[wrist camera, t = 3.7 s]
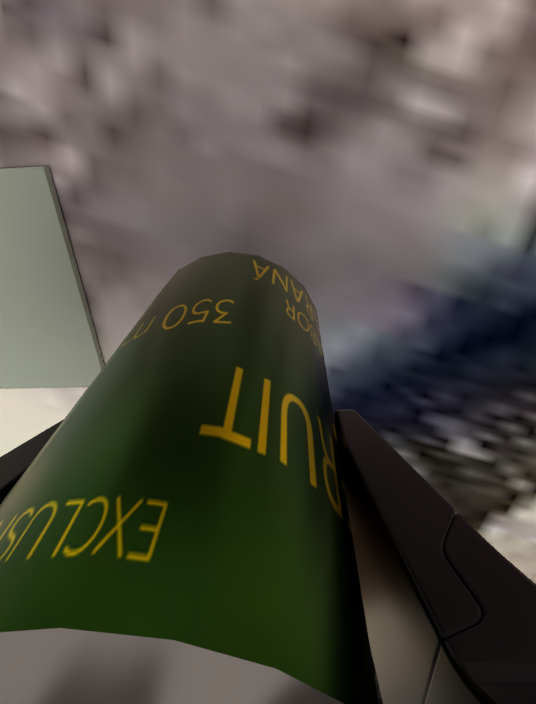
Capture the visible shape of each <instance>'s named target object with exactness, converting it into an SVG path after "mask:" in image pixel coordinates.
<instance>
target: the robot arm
mask: <svg viewBox="0 0 536 704" xmlns="http://www.w3.org/2000/svg"><path fill="white" fill-rule="evenodd" d="M62 422H63V420H62V421H60V422H59V423H57V424H55V425H54V426H52V427H50V428H49V429H47V430H45V431H44V432H42V433H40V434H38V435H37V436H35V437H33V438H32V439H30V440H28V441H27V442H25V443H23V444H22V445H20V446H18V447H17V448H15V449H13V450H12V451H10V452H8V453H7V454H5V455H3V456H1V457H0V504H1V503H2V501H3V500H4V499H5V497H6V496H7V495H8V493H9V492H10V491H11V489H12V488H13V487H14V485H15V484H16V483H17V481H18V480H19V479H20V478H21V476H22V475H23V474H24V472H25V471H26V470H27V468H28V467H29V466H30V464H31V463H32V462H33V460H34V459H35V458H36V456H37V455H38V454H39V452H40V451H41V450H42V448H43V447H44V446H45V444H46V443H47V442H48V440H49V439H50V438H51V436H52V435H53V434H54V432H55V431H56V430H57V428H58V427H59V426H60V424H61V423H62ZM335 431H336V437H337V443H338V449H339V456H340V462H341V468H342V474H343V481H344V487H345V493H346V499H347V506H348V512H349V518H350V525H351V531H352V537H353V543H354V550H355V556H356V562H357V568H358V575H359V581H360V587H361V593H362V600H363V606H364V612H365V619H366V625H367V631H368V637H369V644H370V650H371V656H372V662H373V669H374V675H375V681H376V687H377V694H378V700H379V704H536V584H535V583H534V582H533V581H531V580H530V579H529V578H528V577H527V576H525V575H524V574H523V573H522V572H521V571H520V570H519V569H517V568H516V567H515V566H514V565H513V564H512V563H510V562H509V561H508V560H507V559H506V558H505V557H504V556H502V555H501V554H500V553H499V552H498V551H497V550H496V549H495V548H494V547H493V546H491V545H490V544H489V543H488V542H487V541H486V540H485V539H484V538H483V537H482V536H481V535H480V534H479V533H478V532H477V531H476V530H475V529H474V528H473V527H472V526H471V525H470V524H469V523H468V522H467V521H466V520H465V519H464V518H463V517H462V516H461V515H459V514H456V511H455V510H454V509H453V508H452V507H451V506H450V505H449V504H448V503H447V502H446V501H445V500H444V499H443V498H442V497H441V496H440V495H439V494H438V493H437V492H436V491H435V490H434V489H433V488H432V487H431V486H430V485H429V484H428V483H427V482H426V481H425V480H424V479H423V478H422V477H421V476H420V475H419V474H418V473H417V472H416V471H415V470H414V469H413V468H412V467H411V466H410V465H409V464H408V463H407V462H406V461H405V460H404V459H403V458H402V457H401V456H400V455H399V454H398V453H397V452H396V451H395V450H394V449H393V448H392V447H391V446H390V445H389V444H388V443H387V442H386V441H385V440H384V439H383V438H382V437H381V436H380V435H379V434H378V433H377V432H376V431H375V430H374V429H373V428H372V427H371V426H370V425H369V424H368V423H367V422H366V421H365V420H364V419H363V418H362V417H361V416H360V415H359V414H358V413H357V412H356V411H355V410H337V411H336V412H335Z"/></svg>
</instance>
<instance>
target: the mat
mask: <svg viewBox="0 0 536 704" xmlns="http://www.w3.org/2000/svg"><path fill="white" fill-rule="evenodd" d="M104 366H105V365H104V361H103V358H102V354H101V351H100V347H99V344H98V340H97V337H96V333H95V329H94V326H93V322H92V319H91V315H90V312H89V308H88V304H87V301H86V297H85V294H84V290H83V287H82V283H81V280H80V276H79V272H78V269H77V265H76V262H75V258H74V255H73V251H72V247H71V244H70V240H69V237H68V233H67V230H66V226H65V223H64V219H63V215H62V212H61V208H60V205H59V201H58V198H57V194H56V190H55V187H54V183H53V180H52V176H51V173H50V169H49V166H33V167H14V168H0V389H9V388H61V387H89V386H90V385H91V383H92V382H93V381H94V379H95V378H96V377H97V375H98V374H99V373H100V371H101V370H102V369H103V367H104Z"/></svg>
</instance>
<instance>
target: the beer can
mask: <svg viewBox="0 0 536 704" xmlns="http://www.w3.org/2000/svg"><path fill="white" fill-rule="evenodd" d="M0 704H379V700H378V694H377V687H376V681H375V675H374V669H373V662H372V656H371V650H370V644H369V637H368V631H367V625H366V619H365V612H364V606H363V600H362V593H361V587H360V581H359V575H358V568H357V562H356V556H355V550H354V543H353V537H352V531H351V525H350V518H349V512H348V506H347V499H346V493H345V487H344V481H343V474H342V468H341V462H340V456H339V449H338V443H337V437H336V431H335V424H334V418H333V412H332V405H331V399H330V393H329V387H328V380H327V374H326V368H325V362H324V355H323V349H322V343H321V337H320V330H319V324H318V318H317V311H316V308H315V306H314V304H313V302H312V301H311V299H310V297H309V295H308V293H307V291H306V289H305V288H304V286H303V285H302V284H301V283H300V282H298V281H297V280H296V279H295V278H294V277H293V276H292V275H291V274H290V273H289V272H288V271H287V270H286V269H285V268H283V267H281V266H279V265H277V264H274V263H272V262H270V261H268V260H266V259H264V258H262V257H259V256H256V255H248V254H241V253H233V252H227V253H221V254H216V255H211V256H205V257H201V258H199V259H198V260H196V261H194V262H192V263H191V264H189V265H187V266H185V267H183V268H182V269H180V270H178V271H177V273H176V274H175V275H174V276H173V277H172V278H171V280H170V281H169V282H168V283H167V284H166V286H165V287H164V288H163V289H162V290H161V292H160V293H159V294H158V296H157V297H156V298H155V300H154V301H153V302H152V304H151V305H150V306H149V308H148V309H147V310H146V312H145V313H144V314H143V316H142V317H141V318H140V320H139V321H138V322H137V323H136V325H135V326H134V327H133V329H132V330H131V331H130V333H129V334H128V335H127V337H126V338H125V339H124V341H123V342H122V343H121V345H120V346H119V347H118V349H117V350H116V351H115V353H114V354H113V355H112V357H111V358H110V359H109V361H108V362H107V363H106V365H105V366H104V367H103V369H102V370H101V371H100V373H99V374H98V375H97V377H96V378H95V379H94V381H93V382H92V383H91V385H90V386H89V387H88V389H87V390H86V391H85V393H84V394H83V395H82V397H81V398H80V399H79V401H78V402H77V403H76V404H75V406H74V407H73V408H72V410H71V411H70V412H69V414H68V415H67V416H66V418H65V419H64V420H63V422H62V423H61V424H60V426H59V427H58V428H57V430H56V431H55V432H54V434H53V435H52V436H51V438H50V439H49V440H48V442H47V443H46V444H45V446H44V447H43V448H42V450H41V451H40V452H39V454H38V455H37V456H36V458H35V459H34V460H33V462H32V463H31V464H30V466H29V467H28V468H27V470H26V471H25V472H24V474H23V475H22V476H21V478H20V479H19V480H18V481H17V483H16V484H15V485H14V487H13V488H12V489H11V491H10V492H9V493H8V495H7V496H6V497H5V499H4V500H3V501H2V503H1V504H0Z"/></svg>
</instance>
